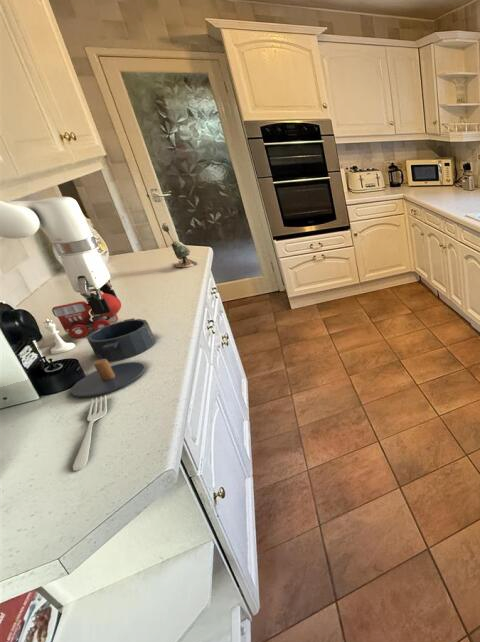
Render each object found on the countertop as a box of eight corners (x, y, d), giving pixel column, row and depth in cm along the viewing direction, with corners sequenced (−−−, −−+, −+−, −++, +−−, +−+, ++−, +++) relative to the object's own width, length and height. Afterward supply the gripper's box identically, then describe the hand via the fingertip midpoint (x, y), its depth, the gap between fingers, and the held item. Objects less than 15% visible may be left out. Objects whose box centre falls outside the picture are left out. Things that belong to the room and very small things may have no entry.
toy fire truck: (120, 328, 126) (106, 299, 122) (65, 342, 119) (48, 311, 115) (121, 320, 131) (107, 292, 127) (68, 333, 124) (52, 303, 119)
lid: (62, 406, 92) (49, 384, 89) (85, 375, 103) (74, 355, 100) (137, 387, 98) (126, 367, 95) (151, 360, 109) (142, 341, 106)
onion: (94, 319, 109) (80, 293, 106) (120, 310, 114) (108, 285, 110) (103, 323, 106) (89, 297, 103) (129, 314, 111) (117, 289, 108)
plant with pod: (177, 271, 173) (159, 227, 165) (174, 265, 181) (157, 222, 173) (199, 266, 178) (183, 223, 170) (195, 260, 186) (180, 219, 178)
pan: (86, 371, 104) (74, 351, 102) (110, 340, 119) (100, 322, 116) (146, 358, 110) (137, 338, 107) (162, 330, 124) (154, 312, 122)
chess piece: (56, 347, 116) (39, 317, 112) (78, 343, 118) (62, 313, 114) (47, 355, 112) (29, 325, 108) (70, 351, 114) (53, 320, 110)
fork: (66, 475, 74) (61, 468, 73) (92, 405, 92) (89, 399, 91) (89, 466, 75) (85, 459, 75) (111, 400, 93) (108, 394, 93)
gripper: (71, 240, 107) (101, 299, 114) (39, 258, 93) (76, 324, 100) (107, 235, 110) (134, 294, 117) (82, 252, 96) (114, 317, 103)
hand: (107, 307), depth 109 cm, fingers closed on onion, 6 cm apart
